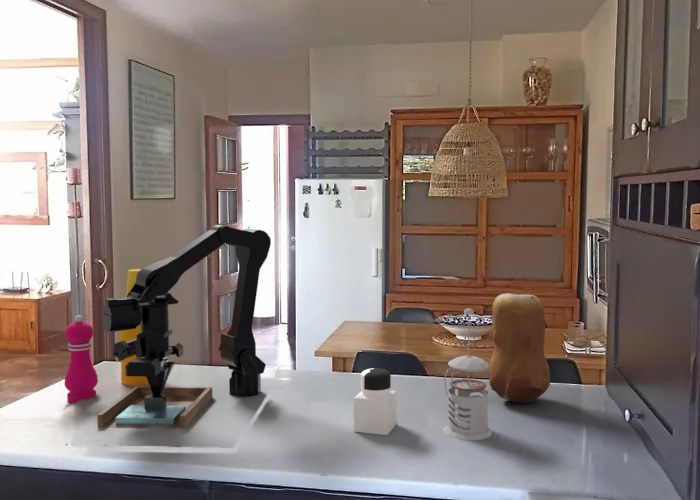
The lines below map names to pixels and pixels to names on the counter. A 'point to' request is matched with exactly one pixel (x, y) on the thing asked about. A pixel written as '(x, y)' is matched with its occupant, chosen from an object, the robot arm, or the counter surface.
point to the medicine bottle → (375, 403)
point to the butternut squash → (518, 348)
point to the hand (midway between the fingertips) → (157, 397)
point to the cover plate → (151, 413)
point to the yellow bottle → (131, 335)
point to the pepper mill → (80, 362)
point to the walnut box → (175, 396)
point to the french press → (467, 399)
